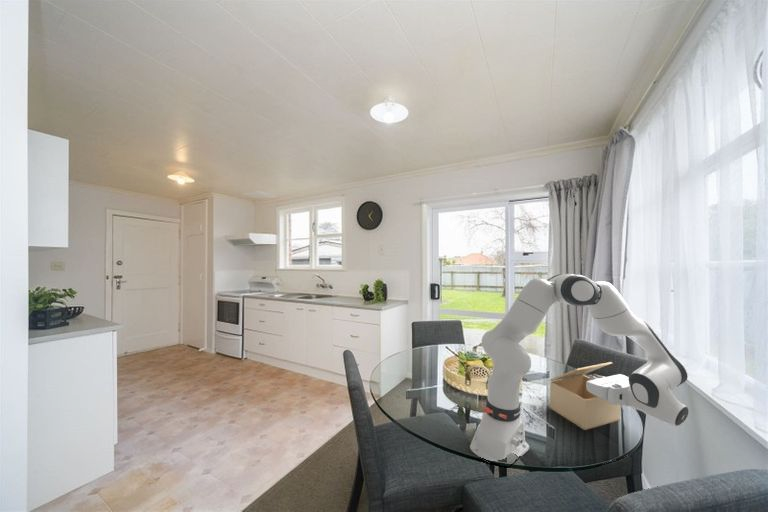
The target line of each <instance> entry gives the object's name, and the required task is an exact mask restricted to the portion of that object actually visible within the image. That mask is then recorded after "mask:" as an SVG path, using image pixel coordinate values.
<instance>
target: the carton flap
mask: <svg viewBox="0 0 768 512" xmlns="http://www.w3.org/2000/svg"><path fill="white" fill-rule="evenodd" d="M611 364H613V362H612V361H609V362H605V363H598V364H593V365H589V366H584V367H578V368H574V369H573V370H570V371H567V372H566V373H562V374H561V375H558V376H556V377H553V378H551V379H549V381H550V382H552V381H557V380H562V379H567V378H571V377H576V376H581V375H585V374H588V373H590V372H591V373H592V372H593V371H594V372H595V370H599V369H601V368H604V367H606V366H608V365H609V366H610V365H611Z"/></svg>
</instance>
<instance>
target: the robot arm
mask: <svg viewBox="0 0 768 512" xmlns="http://www.w3.org/2000/svg"><path fill="white" fill-rule="evenodd" d="M556 302H560V303H562V304H564V305H568V306H569V305H570V306H574V307H575V306H576V307H584V306H586V307H587V309H588V310H589V312H590V315H591V316H592V318H593V320H594V322H595V323H596V325H597V327H598V328H599V329H600V331H602V332H603V333H605V334H607V335H609V336H612V337H613V336H614V337H633V338H634V339H635V340H636V342H637V343H638V344H639V345H640V346H641V348H642V349H643V351H644V352H645V353H646V354H647V358H648V359H647V361H646V362H645V363H644V364H643V365H641V366H640V367H638V368H637V369H636V370H634V371H633V372H631V373H630V374H629V376H626V375H625V374H621V373H618V374H613V375H609V376H604V375H598V374H596V373H594V374H589V375H588V377H589V379H591V380H589V381H587V382H586V389H587V391H588V392H590V393H592V394H594V395H596V396H598V397H599V398H602V399H604V400H608V403H610V404H612V405H621V406H622V407H623V406H625V407H630V408H632V409H635V410H637V411H640V412H643V414H645V415H647V416H649V417H651V418H653V419H654V420H657V421H659V422H661V423H663V424H667V425H670V426H675V427H677V426H680V425H682V423H684V422H685V421H686V419H687V418H688V415H689V408H688V406H687V405H685V404H684V403H682V402H680V400H679V399H678V398H677V397H676V396H675V395H674V393H673V392H672V391H673V390H675V389H676V388H677V387H679V386H681V385H682V384H685V382H686V381H688V377H689V376H688V372H687V369H686V368H685V366H684V365H683V364H682V363H681V362H680V361H679V360H678V359H677V358H676V357H674V355H673V354H672V353H671V352H670V351H669V350H668V348H667V347H666V346H665V344H664V343H663V342H662V340H661V339H660V337H659V336H658V335H657V334H656V332H654V330H653V329H652V328H651V326H650V325H649V324H648V322H646V321H645V320H644V319H643V318H641V317H639V316H637V315H635V313H633V311H632V310H631V308H630V307H629V305H628V304H627V302H626V301H625V299H624V297H623V296H622V295H621V294H620V292H619V291H618V290H617V289H616V287H615V286H614V285H613V284H612V283H610V282H608V281H593V279H591V278H589V277H587V276H585V275H582V274H574V273H562V274H557V275H553V276H552V277H550V278H548V279H543V278H538V277H537V278H532V279H530V280H529V281H528V282H527V283H526V285H525V286H524V287H523V288H522V289H521V290H520V291H519V294H518V295H517V297H516V298H515V300H514V302H513V303H512V304H511V307H510V308H509V310H508V312H507V313H506V315H505V316H504V317H503V318H502V319H501V321H500V322H498V324H497V325H496V326H494V327H493V328H492V329H490V330H488V331H486V332H485V333H484V334H483V335H482V338H481V347H482V348H483V350H484V353H485V354H486V355H487V356H488V357H489V358H490V359H491V361H492V366H493V368H492V371H491V375H489V377H488V379H487V396H486V400H485V404H484V405H485V406H483V408H482V412H483V413H482V416H481V420H480V422H479V424H478V425H477V427H476V430H475V432H474V435H473V438H472V440H471V443H470V445H469V449H470V450H471V452H472V453H473V454H475V455H476V456H478V457H479V458H480V457H481V459H482V458H484V459H486V460H490V461H497V460H502V459H505V458H506V457H507V455H509V454H510V453H514V454H516V455H517V456H518V457H519V456H521V457H523V455H525V454H526V453H527V452H528V451H529V450H530V445H529V443H527V442H526V435H525V434H526V433H525V431H526V430H525V423H524V421H523V420H522V417H521V411H522V410H521V409H522V408H521V403H520V391H521V390H520V387H521V382H522V379H523V376H525V375H526V374H528V372H529V371H530V369H531V367H532V359H531V357H530V355H529V354H528V352H527V350H526V348H524V347H523V346H522V345H521V344H520V343H521V342H522V341H523V340H524V339H525V338H526V337H528V336H531V335H533V334H535V333H536V332H537V330H538V328H539V327H540V325H541V324H542V322H543V320H544V319H545V316H546V315H547V313H548V312H549V310H550V308H551V307H552V305H553V304H555V303H556ZM484 459H483V460H484ZM486 460H485V461H486Z"/></svg>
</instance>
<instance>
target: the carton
mask: <svg viewBox="0 0 768 512" xmlns="http://www.w3.org/2000/svg"><path fill="white" fill-rule="evenodd" d="M589 380H591V379H589V376H587V375H585V374H583V375H578V376H573V377H568V378H563V379H559V380H554V381H550V387H549V389H550V391H549V392H550V394H549V409H550V410H552V411H554V412H555V413H556V414H558V415H560V416H562V417H563V418H565V419H566V420H567V421H569V422H571V423H573V424H574V425H575V426H577V427H579V428H580V429H582V430H583V431H587V430H591V429H594V428H597V427H601V426H604V425H608V424H611V423H614V422H615V423H616V422H618V421H621V407H622V405H612V404H610V403H608V400H604V399H602V398H599V397H598V396H596V395H594V394H592V393H590V392H588V391H587V389H586V382H587V381H589Z"/></svg>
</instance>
